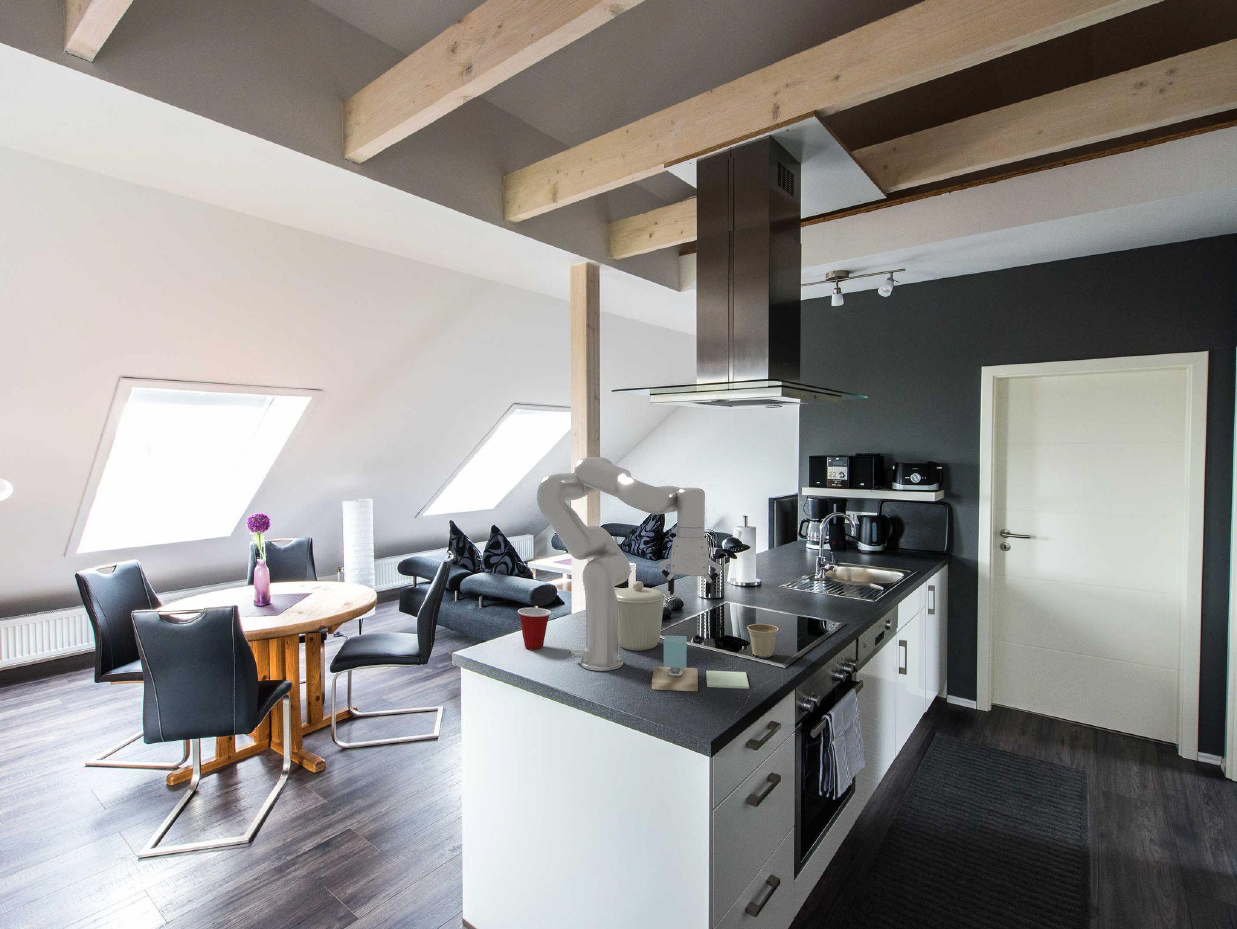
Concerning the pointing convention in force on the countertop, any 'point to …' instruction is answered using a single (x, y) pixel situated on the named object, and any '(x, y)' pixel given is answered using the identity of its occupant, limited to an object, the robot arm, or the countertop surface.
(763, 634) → the flower pot
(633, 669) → the countertop surface
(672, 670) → the post
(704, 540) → the robot arm
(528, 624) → the plastic cup
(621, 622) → the canister
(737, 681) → the mat
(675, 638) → the light blue upright block
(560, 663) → the countertop surface
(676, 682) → the post base
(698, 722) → the countertop surface
